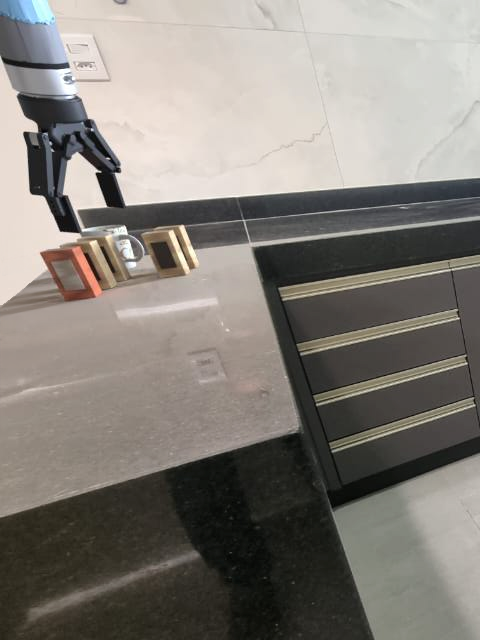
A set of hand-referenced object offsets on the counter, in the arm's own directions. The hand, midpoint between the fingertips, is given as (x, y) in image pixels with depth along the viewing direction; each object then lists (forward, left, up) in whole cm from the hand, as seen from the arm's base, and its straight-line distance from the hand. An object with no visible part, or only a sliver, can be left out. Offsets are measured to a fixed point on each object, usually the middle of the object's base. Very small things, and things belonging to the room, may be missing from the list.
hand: (95, 219), depth 98 cm
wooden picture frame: (-17, +18, -16) cm, 30 cm away
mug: (-36, +17, -16) cm, 43 cm away
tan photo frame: (-22, +6, -16) cm, 28 cm away
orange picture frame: (-15, -1, -16) cm, 22 cm away
